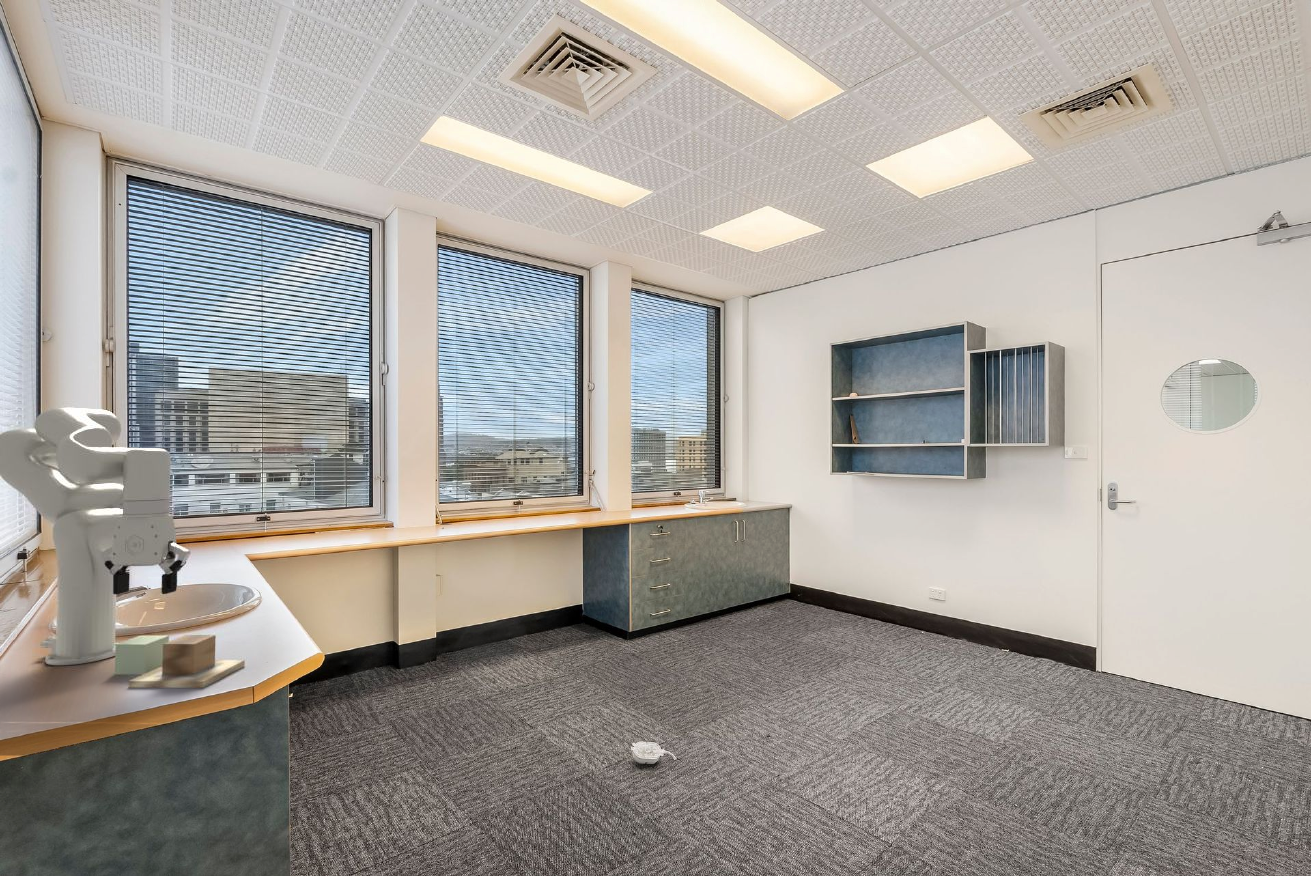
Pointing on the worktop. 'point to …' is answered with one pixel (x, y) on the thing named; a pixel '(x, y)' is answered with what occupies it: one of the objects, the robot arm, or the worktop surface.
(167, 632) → the worktop surface
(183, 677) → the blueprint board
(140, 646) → the sage cube
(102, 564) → the robot arm
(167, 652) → the walnut cube
